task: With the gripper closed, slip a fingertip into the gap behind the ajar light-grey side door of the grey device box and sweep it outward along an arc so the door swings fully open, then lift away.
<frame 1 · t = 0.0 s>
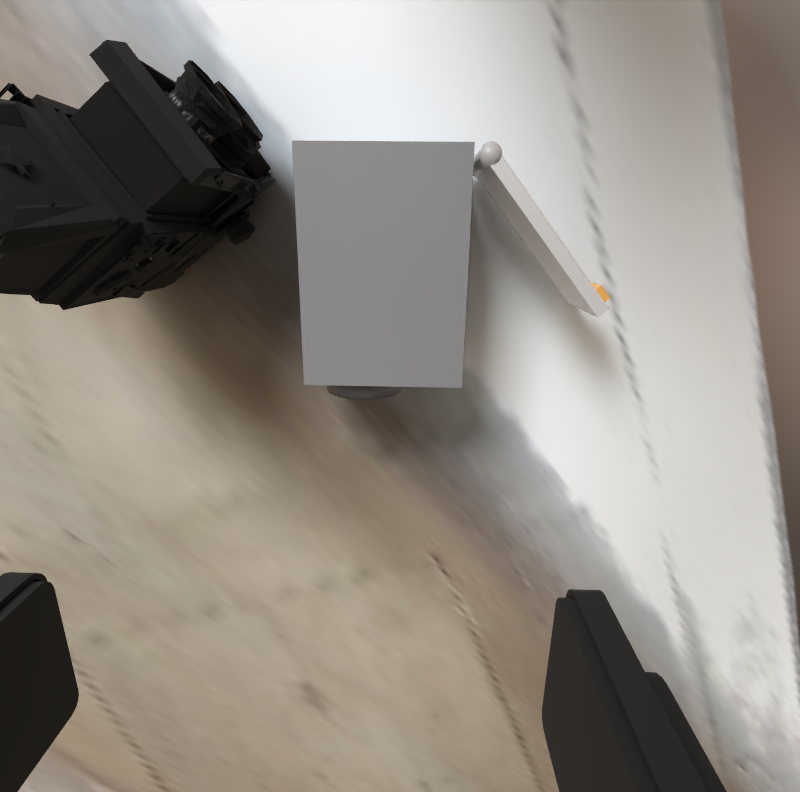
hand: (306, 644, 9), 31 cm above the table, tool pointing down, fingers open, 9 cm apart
grey device box: (389, 264, 38), on the table
side door: (538, 229, 32), point 4 cm above the table, hinge at 40.0°
camera: (195, 190, 37), on the table
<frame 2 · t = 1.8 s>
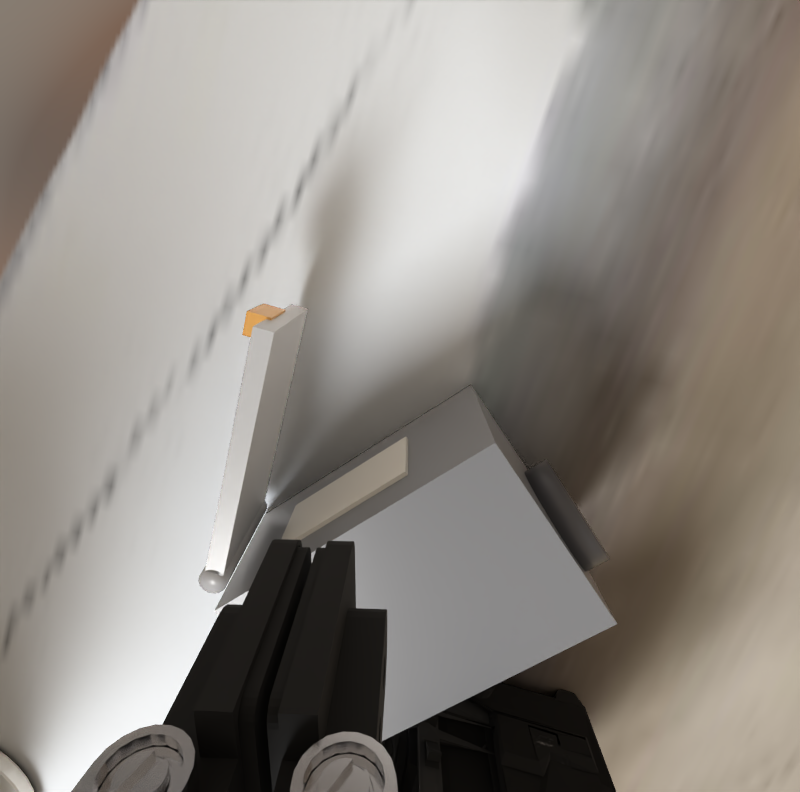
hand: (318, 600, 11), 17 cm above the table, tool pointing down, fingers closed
grey device box: (413, 518, 29), on the table
side door: (251, 438, 23), point 4 cm above the table, hinge at 40.0°
camera: (468, 708, 34), on the table
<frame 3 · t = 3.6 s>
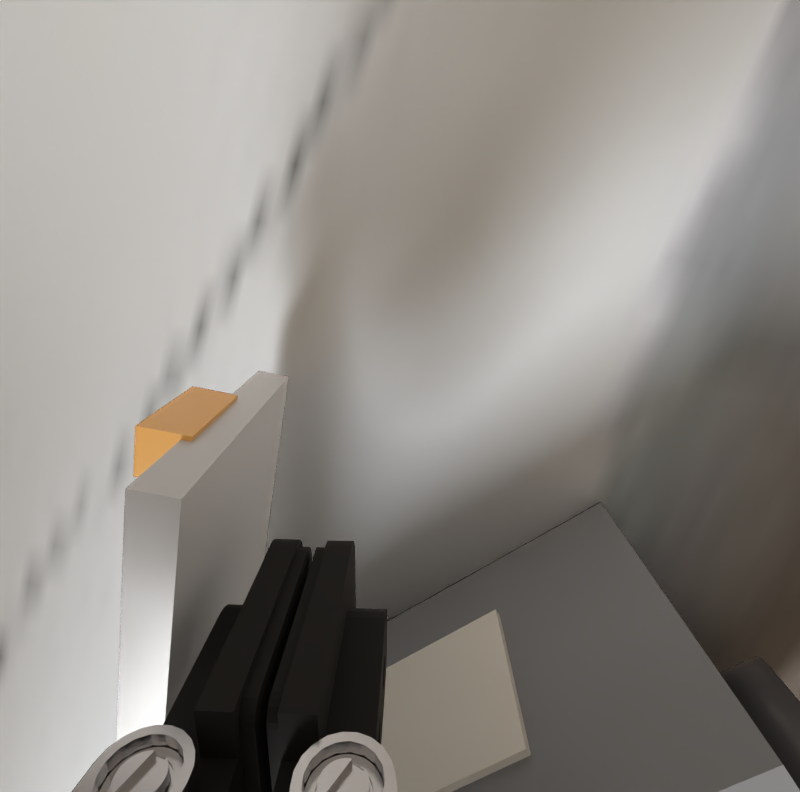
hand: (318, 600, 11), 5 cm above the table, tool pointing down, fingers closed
grey device box: (491, 705, 18), on the table
side door: (195, 643, 12), point 4 cm above the table, hinge at 43.7°, touching gripper
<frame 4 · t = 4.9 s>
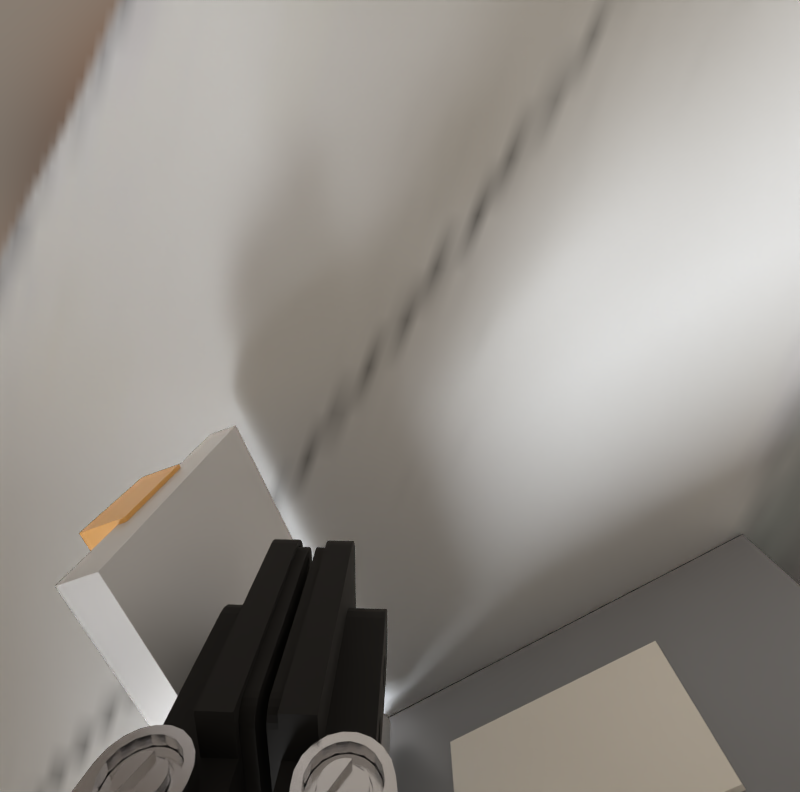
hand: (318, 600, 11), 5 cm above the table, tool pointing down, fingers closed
grey device box: (617, 728, 18), on the table
side door: (272, 688, 13), point 4 cm above the table, hinge at 75.8°, touching gripper
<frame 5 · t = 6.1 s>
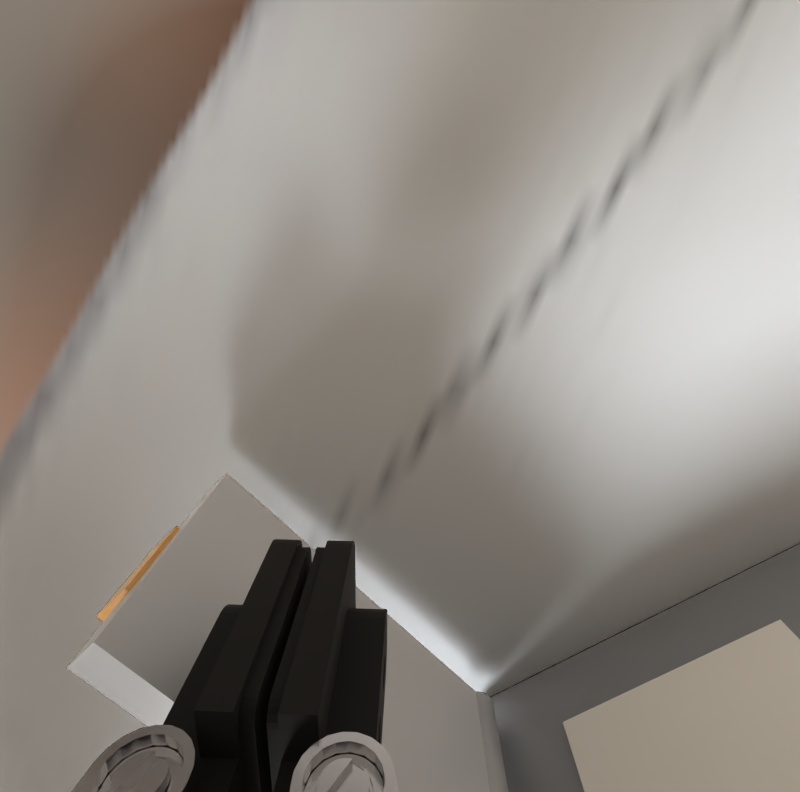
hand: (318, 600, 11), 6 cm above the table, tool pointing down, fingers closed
grey device box: (714, 713, 18), on the table
side door: (341, 700, 13), point 4 cm above the table, hinge at 99.2°, touching gripper
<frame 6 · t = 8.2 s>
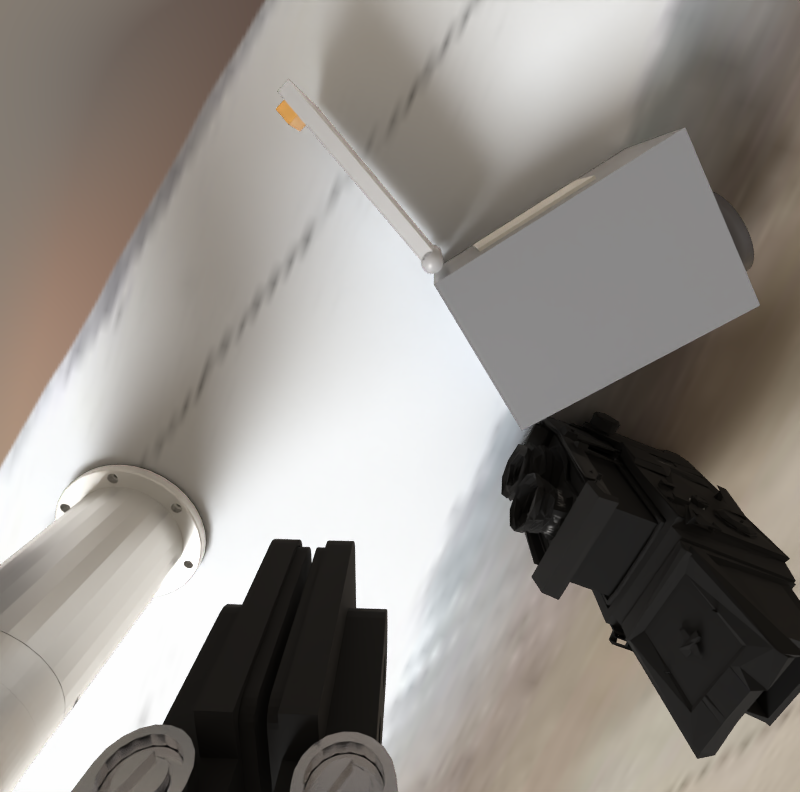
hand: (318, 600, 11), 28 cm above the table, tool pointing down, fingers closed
grey device box: (560, 277, 35), on the table
side door: (367, 189, 30), point 4 cm above the table, hinge at 99.4°
camera: (582, 468, 40), on the table
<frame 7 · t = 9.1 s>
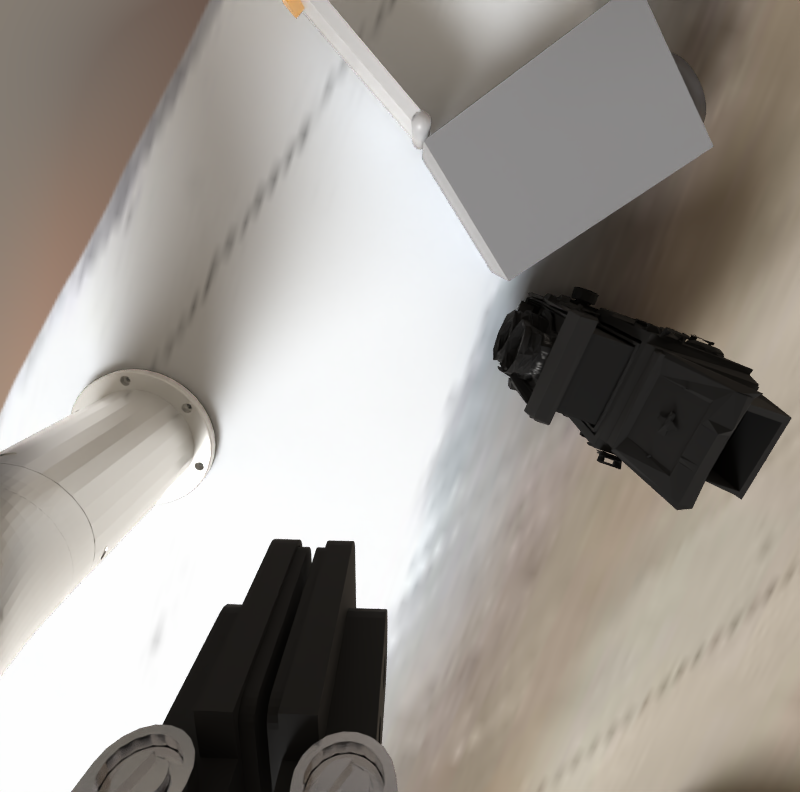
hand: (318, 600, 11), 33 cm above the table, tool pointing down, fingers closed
grey device box: (537, 161, 38), on the table
side door: (359, 67, 33), point 4 cm above the table, hinge at 99.4°
camera: (567, 349, 43), on the table
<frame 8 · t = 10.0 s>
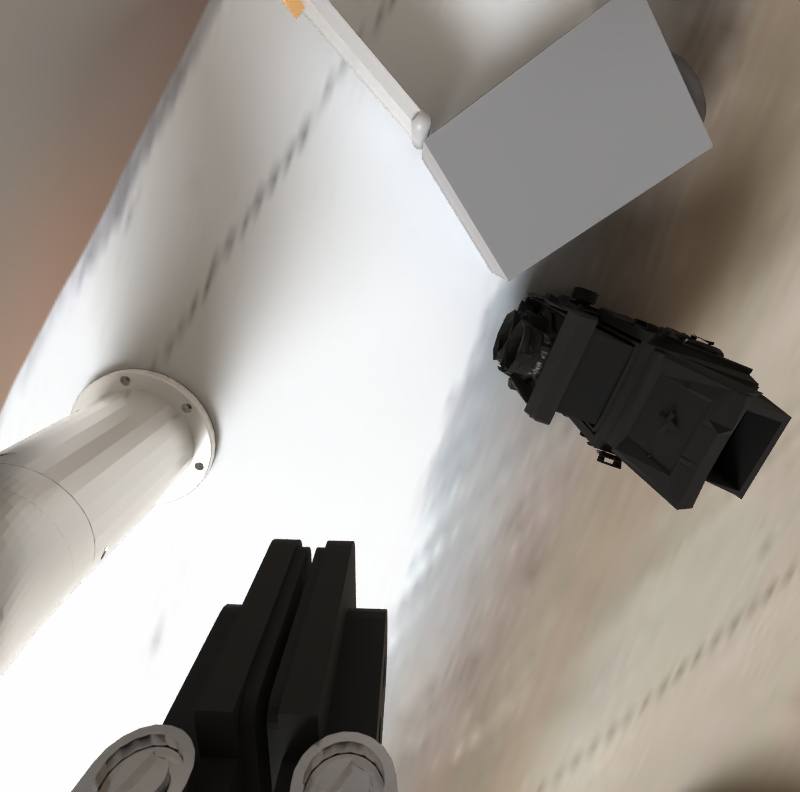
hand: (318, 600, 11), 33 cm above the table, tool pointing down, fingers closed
grey device box: (537, 161, 38), on the table
side door: (359, 67, 33), point 4 cm above the table, hinge at 99.4°
camera: (567, 349, 43), on the table
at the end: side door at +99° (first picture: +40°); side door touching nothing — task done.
